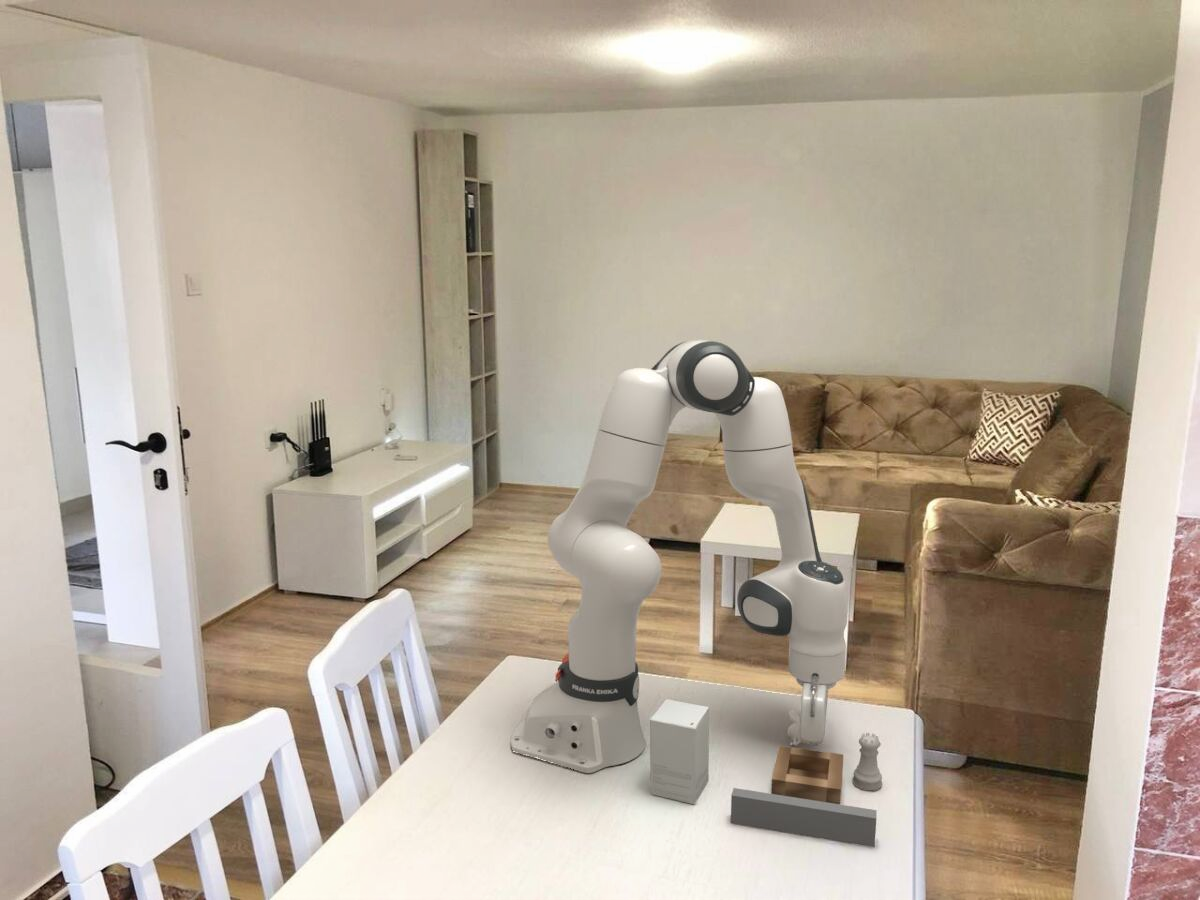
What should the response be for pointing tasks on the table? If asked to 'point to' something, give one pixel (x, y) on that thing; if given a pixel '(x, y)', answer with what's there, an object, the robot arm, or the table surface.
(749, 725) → the table surface
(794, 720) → the rabbit figurine
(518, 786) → the table surface
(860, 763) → the rook chess piece
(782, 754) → the socket block
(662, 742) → the supplement box
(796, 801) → the backstop board
